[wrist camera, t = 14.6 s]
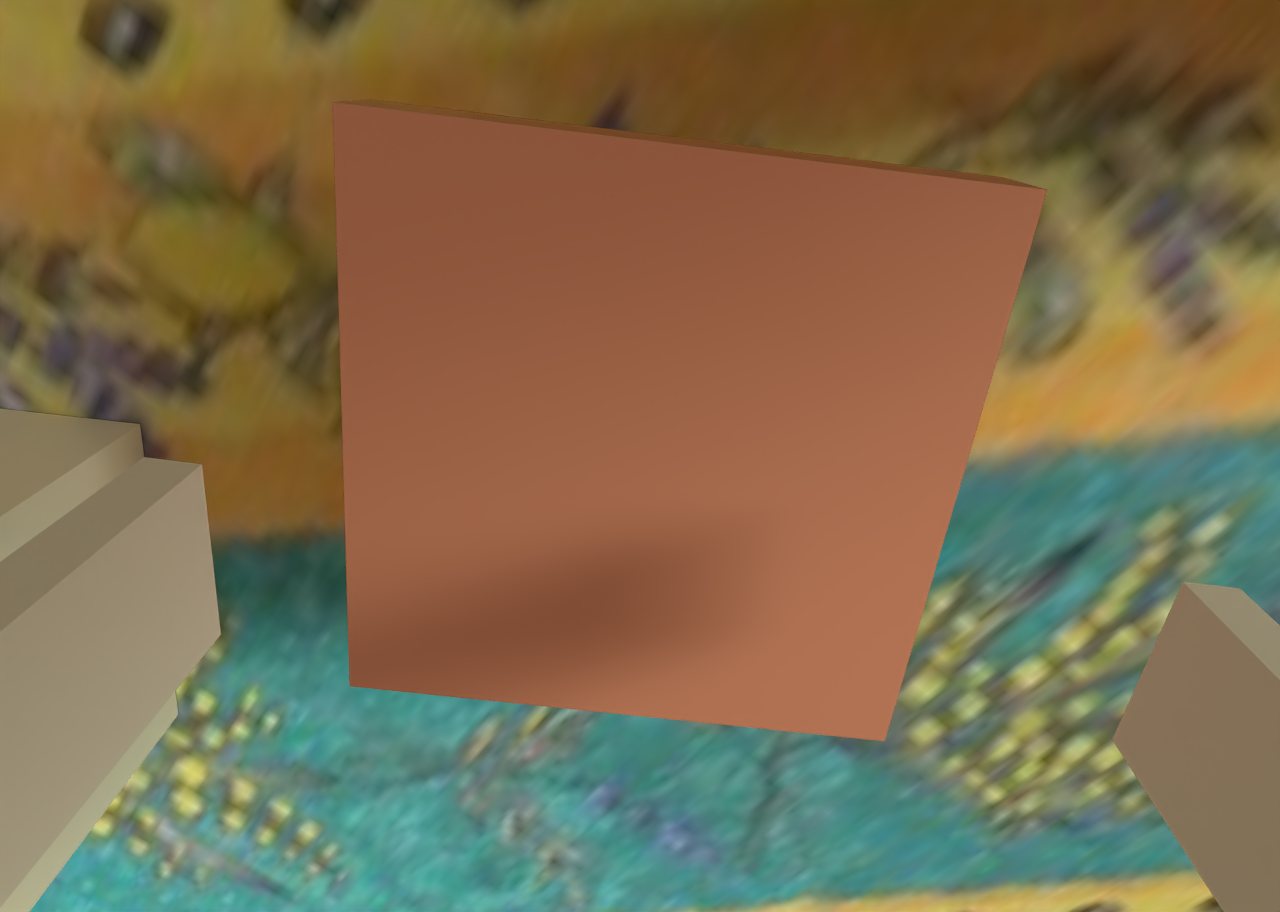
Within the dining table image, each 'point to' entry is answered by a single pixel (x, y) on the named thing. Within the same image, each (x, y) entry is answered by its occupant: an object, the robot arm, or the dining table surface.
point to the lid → (654, 412)
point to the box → (18, 511)
